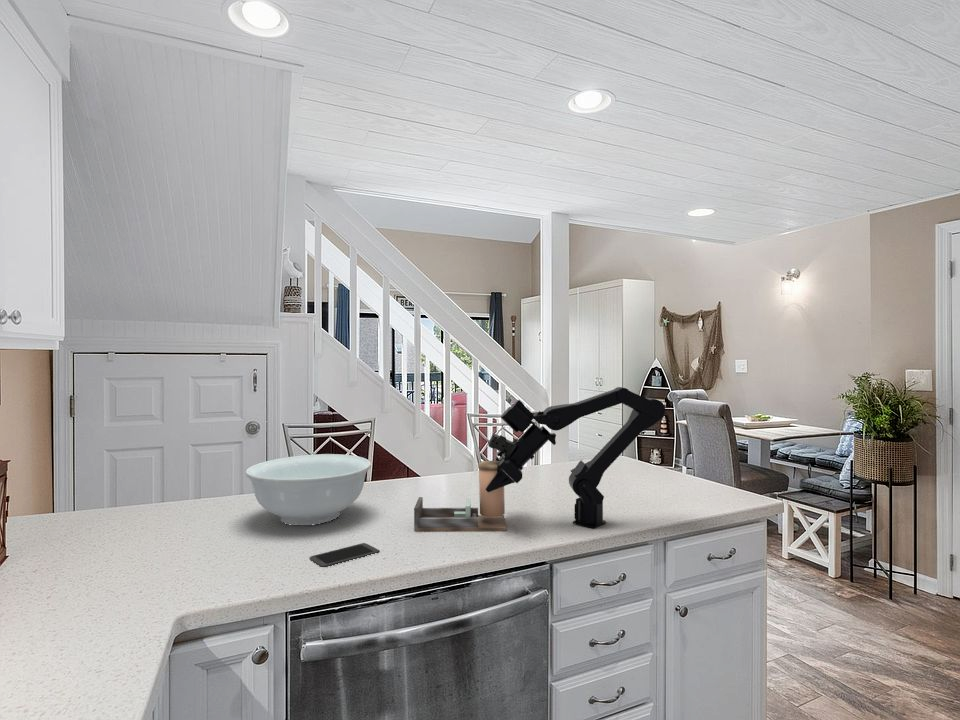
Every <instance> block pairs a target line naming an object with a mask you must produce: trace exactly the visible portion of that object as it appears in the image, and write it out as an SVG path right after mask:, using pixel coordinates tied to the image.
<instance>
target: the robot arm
mask: <svg viewBox="0 0 960 720" xmlns="http://www.w3.org/2000/svg"><path fill="white" fill-rule="evenodd" d="M620 404H623V405H624V406H627V407H629V408H631V409H632V411H631V413H630V415H629V417H628V419H627V421H626V422H625V424H624V425H622V427H621V428H620V429H619V430H618V431H617V432H616V433H615V434H614V435H613V436H612V437H611V439H610V440H609V441H608V442H607V443H606V444H605V445H604V446H603V447H602V448H601V449H600V450H599V451H598V453H597V454H596V455H594V457H593V458H592V459H591V460H589V461H587V462H584V461H583V460H580V461H579V462H578V463H577V465H576V466H575V467H574V468H572V469H570V475H569V476H568V484H569V486H570V488H571V489H572V490H573V492H574V494H575V495H576V496H577V497H578V498H576V499H575V503H574V520H572V524H574V525H578V526H582V527H586V528H590V529H597V528H598V527H600V526H602V525H604V524H606V523H607V521H606V520H604V505H603V504H604V498H605V496H604V494H602V492H601V491H600V490H599V489H598V486H599V484H600V482H601V480H602V478H603V476H604V473H605V472H606V471H607V470H608V468H609V467H611V465H612V464H614V462H615V461H616V460H617V459H618V458H619V456H620V455H622V454H623V452H624V451H625V450H626V449H627V448H628V447H629V446H630V445H631V443H633V442H634V440H636V439H637V437H638V436H639V435H640V434H641V433H642V432H644V431H646V430H647V429H650V428H651V427H652V428H653V426H654V425H656V424H657V423H658V422H660V421H661V420H663V419H664V417H665V416H666V407H665V405H664V402H662V401H661V400H659V399H656V398H652V397H644V396H641V395H640V394H637V393H635V392H633V391H630V390H629V389H628V388H626V387H622V386H618V387H615V388H614V389H612V390H608V391H606V392H603V393H600V394H598V395H594V396H592V397H588V398H584V399H583V400H579V401H577V402H573V403H567V404H557V405H552V406H548V407H546V408H545V409H544V410H542V411H538V412H537V411H535V412H531V410H529V408H528V407H527V406H526V405H525V404H524V403H523V402H522V401H521V400H520V399H517V400H516V401H515V402H514V403H513V404H512V405H511V406H509V407H508V408H506V409H505V411H504V412H503V413H502V414H501V415H500V418H501V420H502V421H503V422H504V423H505V424H506V425H508V426H509V427H510V429H512V430H513V431H514V432H515V433H517V432H520V433H523V434H522V435H521V436H520V437H519V438H514V439H513V441H511V440H509V439H507V436H503V435H502V434H500V435H499V434H496V433H492V434H491V437H490V439H489V441H488V443H487V445H488V447H489V448H491V449H494V450H497V452H496V455H497V456H495V461H500V463H499V465H498V464H497V473H496V475H495V476H494V477H493V479H492V480H491V482H490V483H489V485H488V486H487V488H486V491H487V492H491V491H493V490H496V489H498V488H501V487H503V486H504V487H506V486H508V485H511V484H515V483H516V484H518V483H520V481H521V480H522V479H523V472H522V470H523V469H524V466H525V465H526V464H527V463H528V461H530V460H533V459H534V458H535V454H537V452H538V451H539V450H540V449H542V447H543V446H544V445H545V444H546V443H547V442H550V443H551V444H552V445H553V446H555V445H556V444H557V442H556V436H557V434H556V433H555V431H560V430H563V429H564V428H566V427H568V426H569V425H571V424H572V423H574V422H575V421H577V420H579V419H580V418H582V417H586V416H588V415H591V414H595V413H596V412H600V411H603V410H606V409H609V408H611V407H615V406H617V405H620ZM533 420H534V421H535V422H537V424H539V425H545V426H546V427H547V428H549V430H551V431H554V432H553V433H552V432H551V431H549V430H548V429H547V428H546V427H545V426H540V427H539V426H538V425H537V424H536V423H535V422H534V421H533ZM529 426H530V427H529Z"/></svg>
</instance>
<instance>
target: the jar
mask: <svg viewBox="0 0 960 720" xmlns="http://www.w3.org/2000/svg"><path fill="white" fill-rule="evenodd" d="M499 463H500V461H496V460H485V461H480V462H478V464H477V467H478V484H479V485H478V488H479V489H478V490H479V493H478V494H479V495H478V496H479V515H482V516H486V517H497V516H502V515H504V516H505V514H506V511H505V509H506V507H505V505H506V504H505V503H506V501H505V486H503V487H501V488H498V489H496V490H493V491H491V492H487V491H486V488H487V486H488V485H489V483H490V482H491V480H492V479H493V477H494V476H495V475H496V473H497V464H498V465H499Z"/></svg>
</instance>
